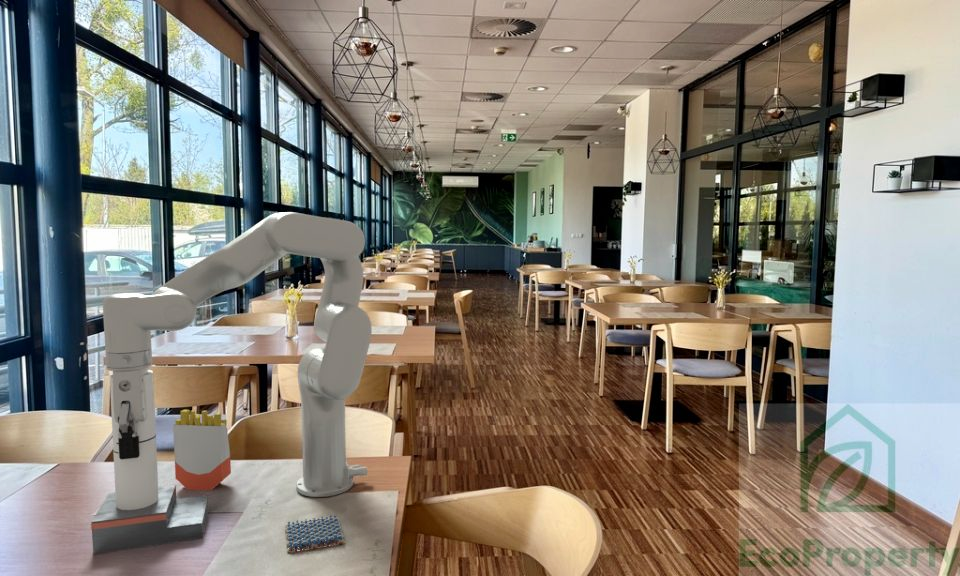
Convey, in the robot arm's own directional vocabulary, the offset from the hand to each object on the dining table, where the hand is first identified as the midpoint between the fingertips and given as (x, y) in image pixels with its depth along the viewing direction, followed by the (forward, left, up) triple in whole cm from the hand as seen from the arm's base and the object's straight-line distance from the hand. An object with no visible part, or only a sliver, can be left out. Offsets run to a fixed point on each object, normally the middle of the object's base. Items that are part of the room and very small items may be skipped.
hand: (134, 449), depth 117 cm
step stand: (-3, 0, -16) cm, 17 cm away
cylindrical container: (0, 0, -11) cm, 11 cm away
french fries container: (-10, -19, -17) cm, 27 cm away
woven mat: (-32, +13, -17) cm, 38 cm away
